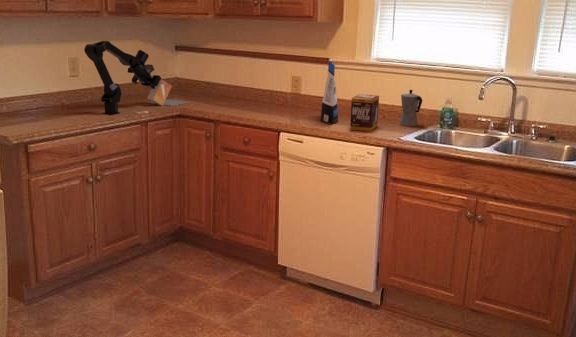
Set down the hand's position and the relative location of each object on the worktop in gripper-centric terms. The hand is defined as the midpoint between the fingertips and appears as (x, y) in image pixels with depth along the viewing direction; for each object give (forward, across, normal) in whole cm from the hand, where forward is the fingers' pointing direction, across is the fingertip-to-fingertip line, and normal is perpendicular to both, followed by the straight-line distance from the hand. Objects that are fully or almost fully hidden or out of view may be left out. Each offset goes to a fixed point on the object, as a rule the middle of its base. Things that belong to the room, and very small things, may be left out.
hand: (154, 88), depth 347 cm
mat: (+16, 0, -1) cm, 16 cm away
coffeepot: (+33, -143, -15) cm, 148 cm away
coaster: (-9, -11, +22) cm, 27 cm away
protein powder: (+23, -104, -6) cm, 106 cm away
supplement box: (+18, -127, -2) cm, 128 cm away
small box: (+6, 0, +6) cm, 8 cm away
